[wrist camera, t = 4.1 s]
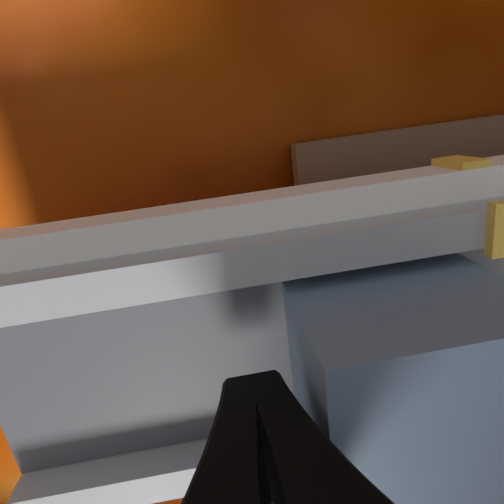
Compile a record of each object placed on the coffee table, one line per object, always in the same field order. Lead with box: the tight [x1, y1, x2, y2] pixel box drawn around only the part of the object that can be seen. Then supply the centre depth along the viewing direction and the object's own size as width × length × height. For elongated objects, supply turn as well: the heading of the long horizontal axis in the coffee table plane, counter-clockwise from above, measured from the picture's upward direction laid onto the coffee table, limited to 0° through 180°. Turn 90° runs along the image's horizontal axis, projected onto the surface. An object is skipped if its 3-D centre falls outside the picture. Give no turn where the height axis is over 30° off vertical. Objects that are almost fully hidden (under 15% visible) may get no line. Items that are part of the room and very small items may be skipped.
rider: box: [282, 253, 504, 504], centre depth 9 cm, size 4×5×4 cm
